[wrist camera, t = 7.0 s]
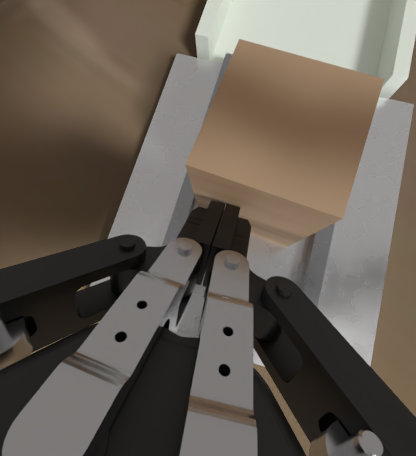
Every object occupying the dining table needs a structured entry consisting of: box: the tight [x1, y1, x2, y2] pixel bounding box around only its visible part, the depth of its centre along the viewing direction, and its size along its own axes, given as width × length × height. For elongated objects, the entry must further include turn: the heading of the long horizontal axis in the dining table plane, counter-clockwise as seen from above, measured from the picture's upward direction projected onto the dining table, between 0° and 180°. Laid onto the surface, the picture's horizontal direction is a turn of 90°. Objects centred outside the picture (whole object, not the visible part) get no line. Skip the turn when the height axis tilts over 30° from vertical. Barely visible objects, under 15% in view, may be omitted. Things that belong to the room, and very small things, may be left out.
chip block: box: [185, 39, 384, 247], centre depth 14 cm, size 6×6×8 cm
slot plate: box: [90, 53, 414, 367], centre depth 18 cm, size 20×18×2 cm
